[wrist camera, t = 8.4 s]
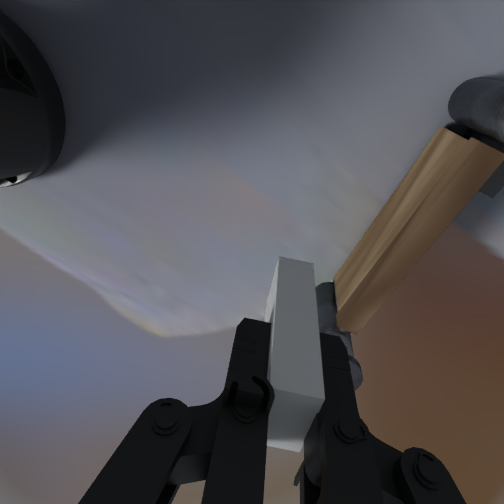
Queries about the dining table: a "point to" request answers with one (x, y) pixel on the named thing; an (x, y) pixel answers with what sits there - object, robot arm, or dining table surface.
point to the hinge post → (335, 326)
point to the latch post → (482, 120)
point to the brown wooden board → (411, 223)
